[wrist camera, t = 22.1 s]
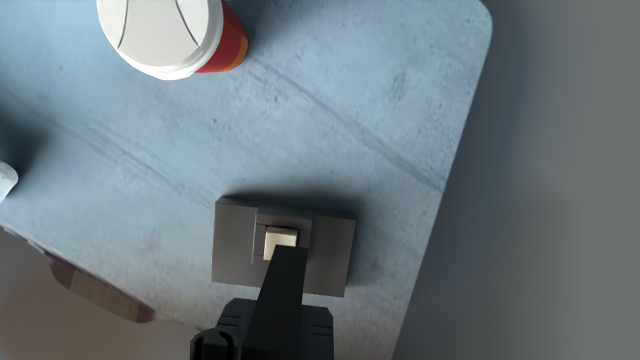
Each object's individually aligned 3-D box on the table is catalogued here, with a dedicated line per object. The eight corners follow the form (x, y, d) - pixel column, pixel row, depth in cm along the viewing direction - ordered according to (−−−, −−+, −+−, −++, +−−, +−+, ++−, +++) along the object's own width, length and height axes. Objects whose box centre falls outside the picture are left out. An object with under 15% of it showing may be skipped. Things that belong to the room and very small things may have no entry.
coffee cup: (176, 0, 36) (75, -62, 21) (255, -3, 35) (209, -68, 21) (186, 85, 38) (101, 81, 23) (262, 82, 38) (223, 77, 23)
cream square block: (297, 229, 38) (296, 235, 36) (294, 255, 39) (293, 263, 37) (268, 225, 38) (266, 232, 36) (266, 252, 39) (263, 259, 37)
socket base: (354, 213, 41) (357, 225, 37) (342, 287, 44) (344, 306, 40) (220, 196, 41) (209, 207, 37) (215, 272, 43) (205, 290, 39)
